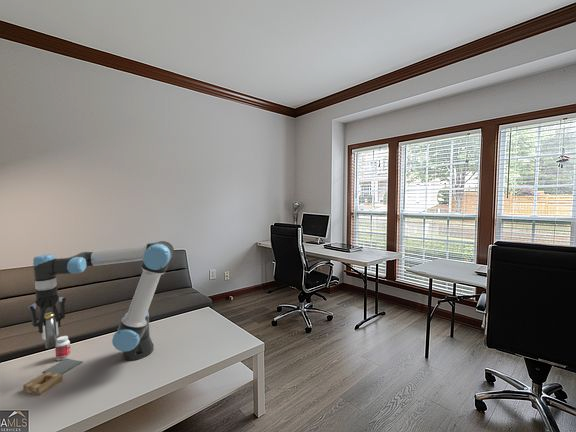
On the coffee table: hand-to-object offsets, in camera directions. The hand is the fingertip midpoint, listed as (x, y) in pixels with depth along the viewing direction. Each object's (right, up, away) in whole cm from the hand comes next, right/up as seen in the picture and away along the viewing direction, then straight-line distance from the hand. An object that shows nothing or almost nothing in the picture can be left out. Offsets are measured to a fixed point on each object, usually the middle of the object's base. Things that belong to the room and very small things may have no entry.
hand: (50, 336), depth 129 cm
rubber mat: (-2, -20, +10) cm, 22 cm away
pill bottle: (-9, -20, +18) cm, 28 cm away
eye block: (+1, -21, -5) cm, 21 cm away
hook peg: (0, -5, 0) cm, 5 cm away
